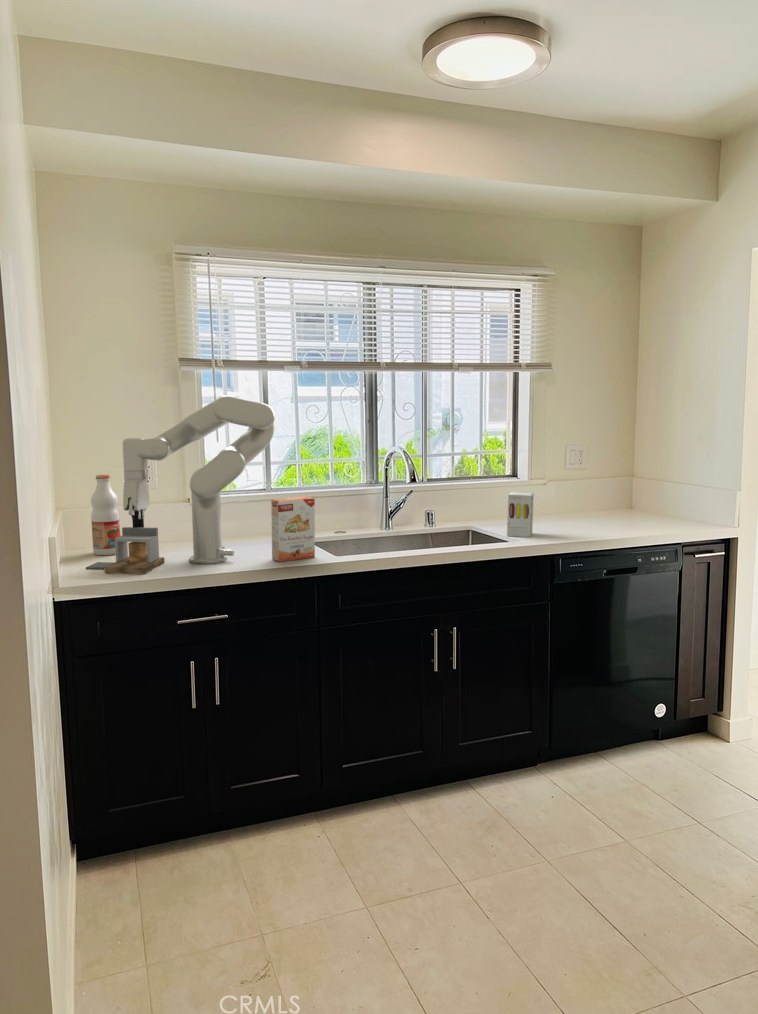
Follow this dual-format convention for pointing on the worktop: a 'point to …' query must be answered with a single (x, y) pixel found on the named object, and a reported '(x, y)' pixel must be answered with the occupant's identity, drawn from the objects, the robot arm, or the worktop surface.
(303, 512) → the cracker box
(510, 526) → the supplement box
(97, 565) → the mat
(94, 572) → the worktop surface
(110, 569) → the board
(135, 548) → the block
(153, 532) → the cover
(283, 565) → the worktop surface
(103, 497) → the fruit juice
